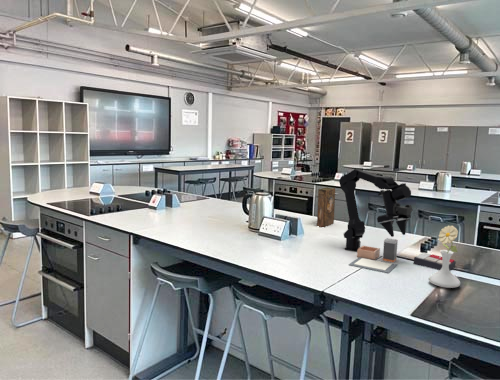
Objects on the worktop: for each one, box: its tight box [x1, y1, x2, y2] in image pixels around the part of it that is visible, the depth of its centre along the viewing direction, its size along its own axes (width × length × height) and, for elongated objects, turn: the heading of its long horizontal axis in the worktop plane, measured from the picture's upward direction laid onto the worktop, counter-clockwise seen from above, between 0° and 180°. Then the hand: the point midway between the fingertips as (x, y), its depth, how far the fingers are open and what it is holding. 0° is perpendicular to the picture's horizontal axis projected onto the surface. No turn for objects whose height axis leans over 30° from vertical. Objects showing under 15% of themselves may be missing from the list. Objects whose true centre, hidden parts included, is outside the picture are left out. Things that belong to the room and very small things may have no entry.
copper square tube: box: [356, 245, 381, 260], centre depth 188 cm, size 8×8×4 cm
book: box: [316, 187, 336, 228], centre depth 258 cm, size 16×6×25 cm, turn 144°
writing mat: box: [348, 257, 398, 274], centre depth 175 cm, size 18×14×1 cm
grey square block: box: [382, 237, 399, 263], centre depth 183 cm, size 5×5×10 cm
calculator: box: [413, 252, 457, 272], centre depth 177 cm, size 11×4×15 cm
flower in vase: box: [428, 225, 461, 289], centre depth 150 cm, size 13×11×25 cm
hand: (398, 235), depth 175 cm, fingers open, 9 cm apart
